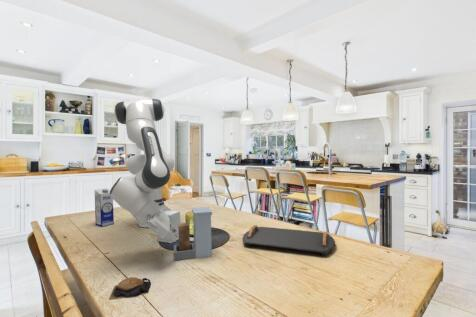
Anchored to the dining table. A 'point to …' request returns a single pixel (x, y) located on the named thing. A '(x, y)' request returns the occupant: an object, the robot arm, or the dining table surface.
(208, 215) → the pale blue tower
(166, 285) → the dining table surface
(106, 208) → the milk carton
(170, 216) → the supplement box
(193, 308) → the dining table surface
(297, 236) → the serving board
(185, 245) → the walnut block
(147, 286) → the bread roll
